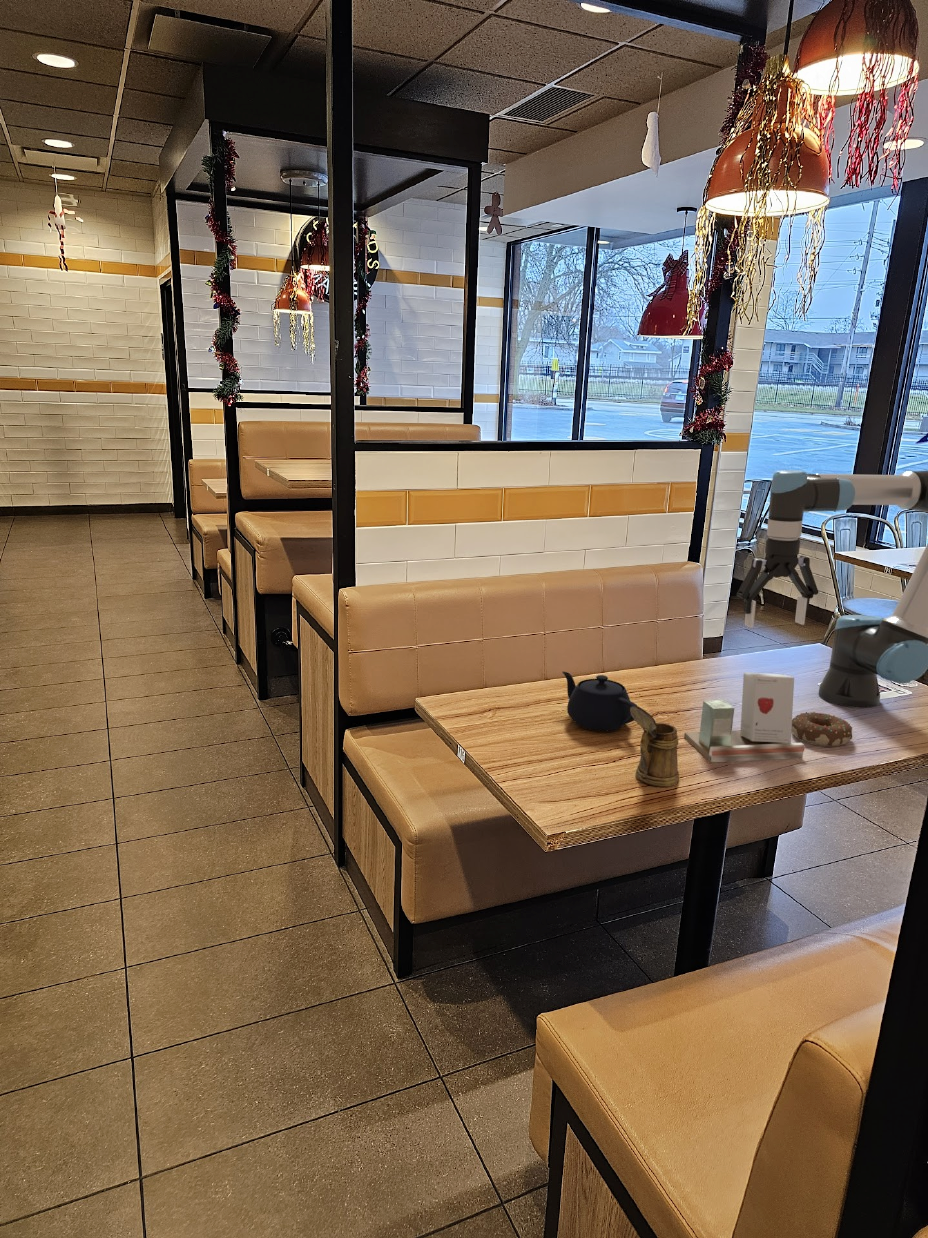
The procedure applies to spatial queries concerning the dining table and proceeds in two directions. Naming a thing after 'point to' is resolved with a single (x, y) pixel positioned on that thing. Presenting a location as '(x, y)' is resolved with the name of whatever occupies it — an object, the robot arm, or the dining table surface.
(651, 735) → the wooden mug
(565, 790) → the dining table surface
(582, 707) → the teapot
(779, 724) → the supplement box
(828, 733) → the donut
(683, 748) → the dining table surface
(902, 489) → the robot arm
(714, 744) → the tea tin
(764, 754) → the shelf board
